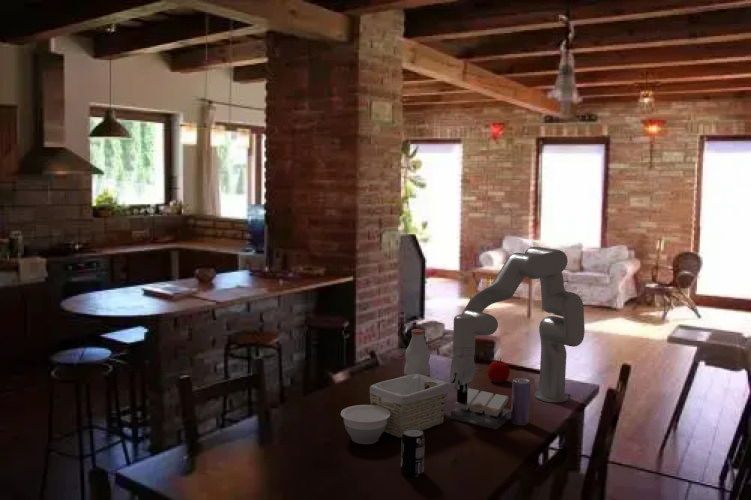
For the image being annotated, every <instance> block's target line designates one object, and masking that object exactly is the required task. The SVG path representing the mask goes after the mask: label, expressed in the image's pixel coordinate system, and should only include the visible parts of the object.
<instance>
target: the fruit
mask: <svg viewBox="0 0 751 500" xmlns="http://www.w3.org/2000/svg"><path fill="white" fill-rule="evenodd" d="M499 359H500V360H493V361H492V362H491V363H490V364H489V366H488V368H487V371H486V373H487V376H488V377H487V378H489V380H490V381H491V382H492V383H496V384H503V383H505V382H506V381H507V380H508V379H509V377H510V373H511V372H510V366H509V365H508V364H507V363H506V362H504V361H502V357H500V358H499Z"/></svg>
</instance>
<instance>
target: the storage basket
mask: <svg viewBox="0 0 751 500" xmlns="http://www.w3.org/2000/svg"><path fill="white" fill-rule="evenodd" d="M425 384H426V385H429V386H430V388H429V389H426V390H425ZM449 385H450V384H449V382H447V381H444V380H440V379H436V378H434V377H431V376H430V377H428V376H424V375H421V374H413V375H407V376H404V375H403V376H400V377H396V378H393V379H392V378H391V379H388V380H383V381H380V382H377V383H374V384H372V385H370V387H369V399H370V405H374V406H379V407H383V408H385V409H387V410H388V411H389V412H390V417H389V418H388V419H387V424H386V428H385V430H384V431H383V433H384V432H385V433H386V434H390V435H391V436H395V437H397V438H402V435H403V431H404V430H406V429H411V428H414V429H419V430H422V431H425V430H428V429H430V428H433V427H436V426H438V425H441V424H443V423H444V416H445V413H446V404H447V398H448V397H447V396H448V395H449V394H448V393H449Z"/></svg>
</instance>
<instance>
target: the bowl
mask: <svg viewBox="0 0 751 500" xmlns="http://www.w3.org/2000/svg"><path fill="white" fill-rule="evenodd" d="M340 416H341V417H342V418H343V424H344V427H345V430H346V432H347V434H348V435H349V436H350V437H351V440H352V442H354V443H356V444H361V445H371V444H376V443H377V442H378V441H379V440H380V437H381V436H382V434H383V433H384V430H385V428H386V424H387V419H388V418H389V417H390V412H389V411H388V410H387V409H385V408H383V407H379V406H374V405H371V404H357V405H352V406H351V405H350V406H348V407H345V408H343V409H342V410H341V412H340Z"/></svg>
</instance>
